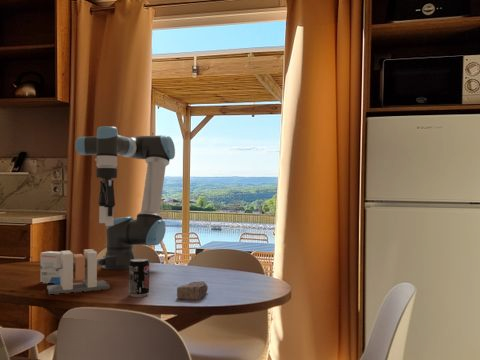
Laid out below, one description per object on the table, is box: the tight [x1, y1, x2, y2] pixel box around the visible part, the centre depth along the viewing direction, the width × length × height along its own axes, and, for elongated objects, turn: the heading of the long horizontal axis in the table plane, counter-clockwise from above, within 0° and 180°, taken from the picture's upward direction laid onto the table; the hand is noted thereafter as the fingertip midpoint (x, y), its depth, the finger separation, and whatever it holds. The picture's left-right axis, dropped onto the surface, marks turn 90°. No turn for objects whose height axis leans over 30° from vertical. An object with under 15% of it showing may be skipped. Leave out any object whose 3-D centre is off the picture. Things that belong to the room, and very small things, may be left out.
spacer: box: [73, 253, 85, 281], centre depth 153 cm, size 3×8×8 cm, turn 29°
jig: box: [46, 248, 110, 296], centre depth 153 cm, size 20×10×13 cm, turn 119°
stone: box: [176, 280, 209, 301], centre depth 143 cm, size 12×9×5 cm
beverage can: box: [128, 257, 150, 298], centre depth 144 cm, size 7×7×12 cm
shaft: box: [60, 255, 116, 269], centre depth 154 cm, size 19×4×4 cm, turn 119°
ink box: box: [39, 250, 61, 285], centre depth 163 cm, size 9×5×12 cm, turn 71°
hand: (106, 224), depth 158 cm, fingers open, 13 cm apart
